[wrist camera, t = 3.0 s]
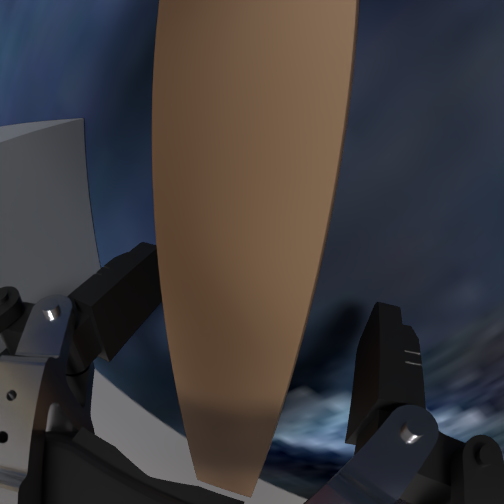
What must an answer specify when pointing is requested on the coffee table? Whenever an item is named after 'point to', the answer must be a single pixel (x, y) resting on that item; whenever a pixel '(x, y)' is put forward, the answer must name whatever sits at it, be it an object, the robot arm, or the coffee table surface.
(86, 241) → the balance stand
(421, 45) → the coffee table surface
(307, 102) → the walnut beam
